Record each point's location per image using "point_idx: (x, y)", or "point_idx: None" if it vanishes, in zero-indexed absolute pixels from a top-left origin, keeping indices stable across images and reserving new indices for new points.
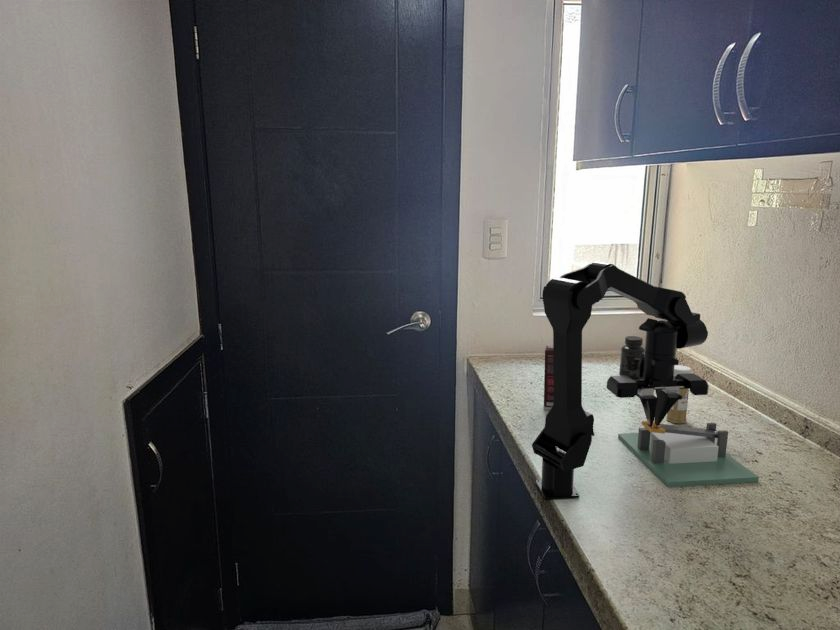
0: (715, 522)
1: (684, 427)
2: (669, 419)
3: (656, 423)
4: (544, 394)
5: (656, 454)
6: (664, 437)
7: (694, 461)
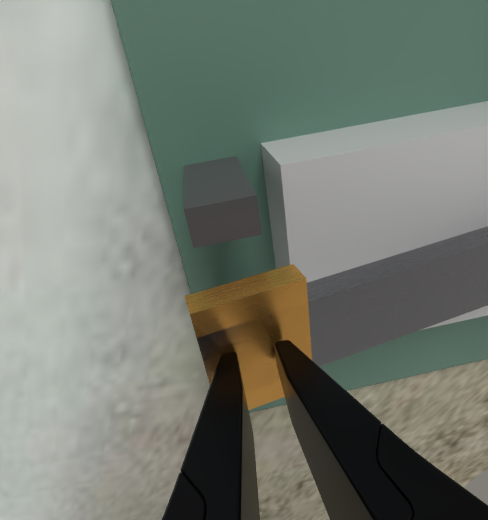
0: (276, 497)
1: (480, 260)
2: None
3: (279, 370)
4: None
5: None
6: (329, 237)
7: None
